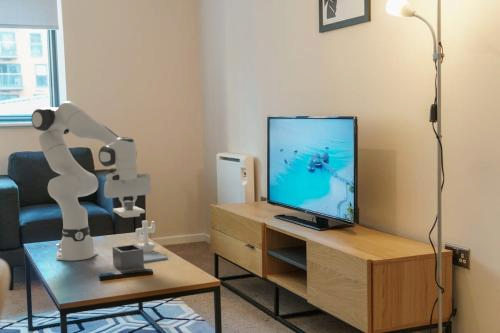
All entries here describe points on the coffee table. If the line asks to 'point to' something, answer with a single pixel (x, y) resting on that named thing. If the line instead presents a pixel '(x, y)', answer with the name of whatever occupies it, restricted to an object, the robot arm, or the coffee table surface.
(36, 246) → the coffee table surface
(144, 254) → the slate mat
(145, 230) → the figurine
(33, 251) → the coffee table surface
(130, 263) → the tin box
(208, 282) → the coffee table surface
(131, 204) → the lid
